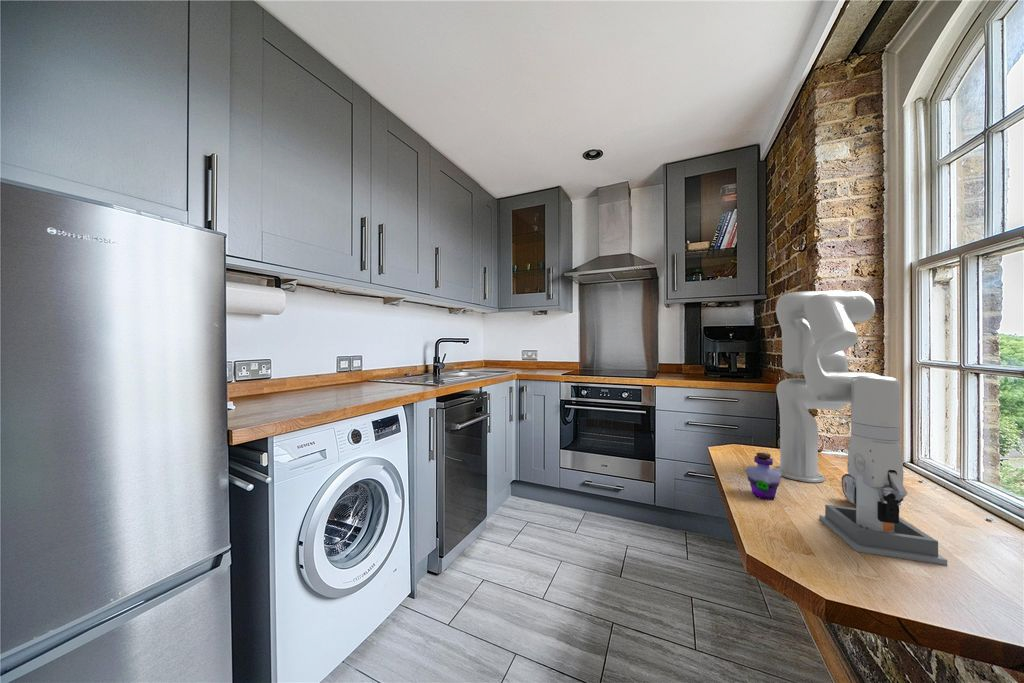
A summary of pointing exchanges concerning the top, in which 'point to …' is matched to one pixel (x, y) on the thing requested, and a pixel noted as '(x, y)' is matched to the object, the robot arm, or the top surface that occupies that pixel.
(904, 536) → the grey square tray
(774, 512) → the top surface
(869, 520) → the skincare box
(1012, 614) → the top surface
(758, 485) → the potion bottle
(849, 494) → the tin
